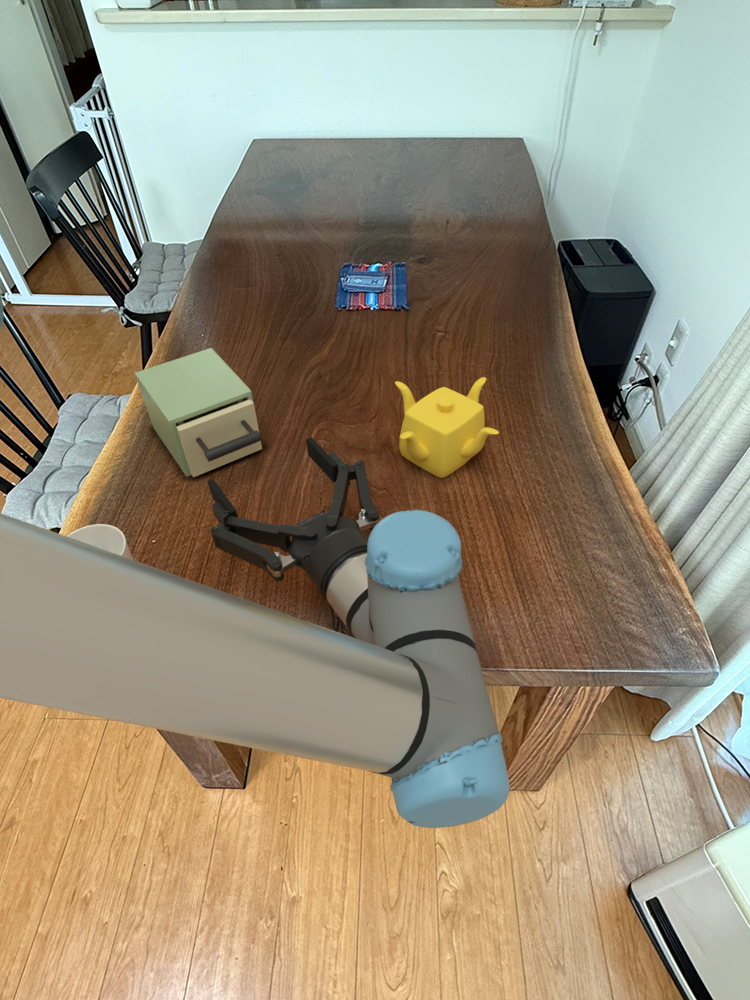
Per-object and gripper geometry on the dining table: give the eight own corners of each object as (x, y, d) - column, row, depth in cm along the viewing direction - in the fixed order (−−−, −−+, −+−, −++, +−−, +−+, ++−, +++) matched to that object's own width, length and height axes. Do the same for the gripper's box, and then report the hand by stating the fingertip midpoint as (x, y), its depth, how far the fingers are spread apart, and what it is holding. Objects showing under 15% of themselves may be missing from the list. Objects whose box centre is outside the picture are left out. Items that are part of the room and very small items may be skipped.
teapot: (398, 484, 88) (400, 432, 82) (391, 425, 98) (392, 375, 92) (495, 480, 89) (505, 428, 82) (479, 421, 99) (486, 371, 92)
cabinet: (261, 446, 95) (251, 390, 87) (186, 477, 90) (168, 421, 82) (223, 401, 103) (211, 347, 96) (153, 427, 98) (134, 372, 91)
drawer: (277, 466, 90) (269, 420, 84) (206, 497, 86) (193, 450, 79) (226, 406, 101) (216, 361, 95) (161, 430, 96) (145, 384, 90)
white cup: (69, 616, 73) (35, 565, 65) (112, 568, 78) (85, 516, 71) (122, 637, 70) (93, 586, 63) (162, 587, 76) (140, 534, 68)
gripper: (252, 655, 61) (175, 528, 73) (444, 547, 70) (347, 451, 83) (239, 613, 55) (159, 483, 68) (448, 503, 65) (344, 407, 77)
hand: (262, 465), depth 75 cm, fingers open, 13 cm apart
